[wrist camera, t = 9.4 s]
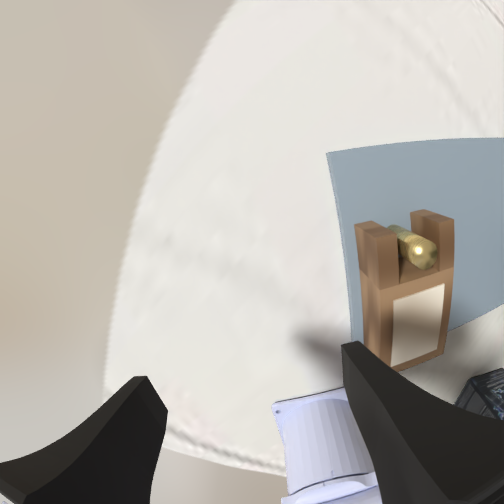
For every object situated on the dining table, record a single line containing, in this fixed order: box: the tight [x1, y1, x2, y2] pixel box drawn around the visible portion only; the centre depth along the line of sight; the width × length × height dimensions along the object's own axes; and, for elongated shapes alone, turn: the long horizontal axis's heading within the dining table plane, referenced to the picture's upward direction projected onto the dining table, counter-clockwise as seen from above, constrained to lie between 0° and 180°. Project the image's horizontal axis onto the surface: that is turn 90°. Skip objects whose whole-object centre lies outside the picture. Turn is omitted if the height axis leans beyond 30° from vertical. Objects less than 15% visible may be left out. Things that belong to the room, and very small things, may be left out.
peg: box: [387, 224, 437, 270], centre depth 15 cm, size 2×2×4 cm
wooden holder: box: [354, 209, 455, 372], centre depth 16 cm, size 10×6×4 cm, turn 13°
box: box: [454, 368, 504, 420], centre depth 18 cm, size 8×6×11 cm
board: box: [326, 138, 504, 345], centre depth 17 cm, size 16×18×1 cm
